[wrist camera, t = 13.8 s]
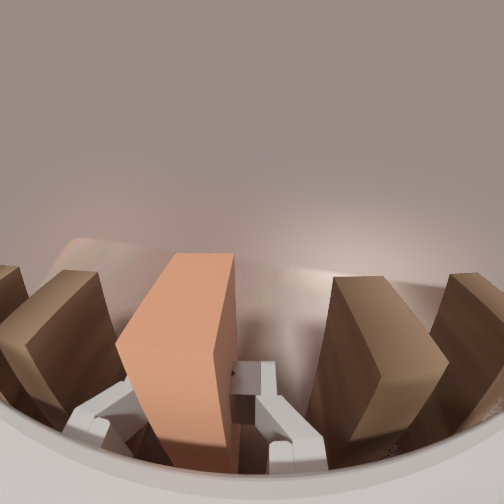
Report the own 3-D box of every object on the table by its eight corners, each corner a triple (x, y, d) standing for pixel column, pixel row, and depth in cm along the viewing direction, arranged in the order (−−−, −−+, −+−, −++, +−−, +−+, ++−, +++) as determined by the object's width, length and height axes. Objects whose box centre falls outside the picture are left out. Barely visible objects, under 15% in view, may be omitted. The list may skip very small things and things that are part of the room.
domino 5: (412, 410, 13) (477, 272, 9) (435, 467, 8) (541, 328, 5) (387, 416, 13) (449, 274, 9) (407, 477, 8) (518, 339, 5)
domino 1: (79, 400, 13) (19, 266, 10) (52, 452, 9) (-43, 314, 5) (59, 393, 13) (0, 265, 10) (31, 440, 9) (-56, 307, 5)
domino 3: (241, 422, 13) (233, 253, 9) (236, 497, 8) (212, 354, 5) (204, 420, 13) (176, 253, 9) (193, 493, 8) (114, 343, 5)
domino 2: (150, 419, 13) (97, 271, 9) (130, 483, 9) (25, 345, 5) (121, 413, 13) (63, 269, 10) (98, 472, 9) (-8, 332, 5)
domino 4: (335, 425, 13) (383, 275, 9) (348, 493, 8) (449, 362, 5) (301, 428, 13) (333, 276, 9) (309, 499, 9) (381, 376, 5)
